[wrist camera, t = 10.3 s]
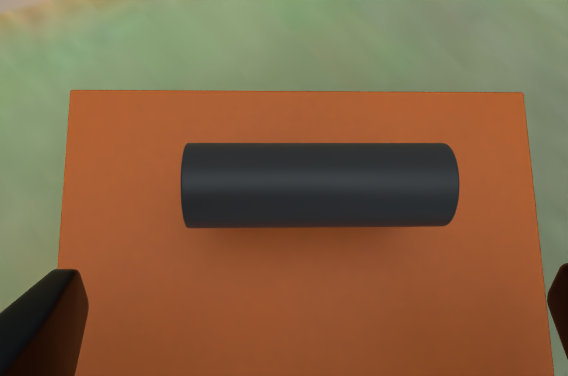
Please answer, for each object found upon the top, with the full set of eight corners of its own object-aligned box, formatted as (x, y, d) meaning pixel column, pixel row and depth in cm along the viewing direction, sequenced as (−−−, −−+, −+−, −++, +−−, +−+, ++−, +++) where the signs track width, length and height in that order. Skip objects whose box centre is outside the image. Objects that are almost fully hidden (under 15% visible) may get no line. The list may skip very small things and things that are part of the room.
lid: (77, 96, 14) (-8, 12, 10) (514, 98, 15) (623, 20, 10) (45, 552, 12) (-84, 715, 8) (559, 532, 13) (724, 672, 8)
